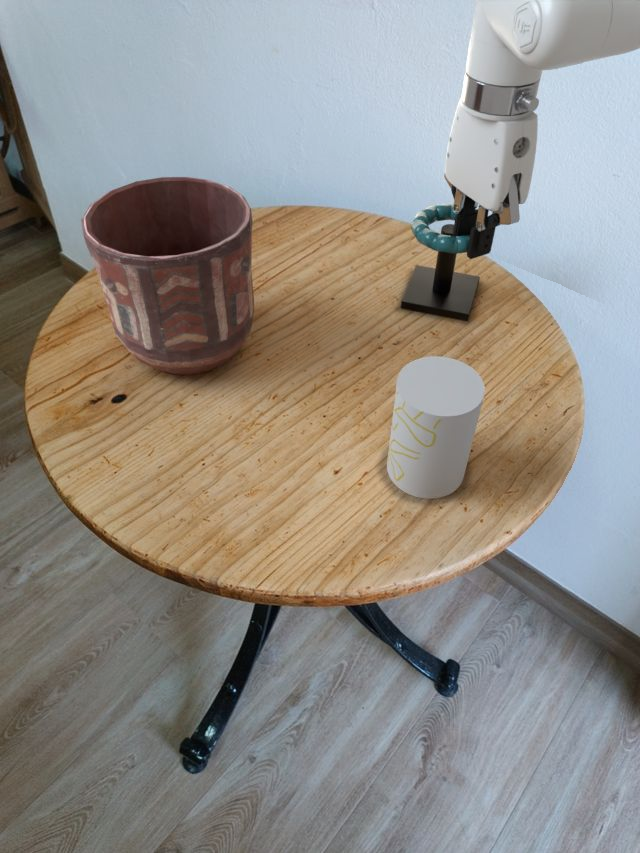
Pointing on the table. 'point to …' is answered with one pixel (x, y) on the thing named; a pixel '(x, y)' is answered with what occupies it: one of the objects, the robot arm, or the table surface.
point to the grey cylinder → (433, 425)
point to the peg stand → (441, 287)
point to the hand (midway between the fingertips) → (470, 247)
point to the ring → (433, 238)
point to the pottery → (175, 270)
